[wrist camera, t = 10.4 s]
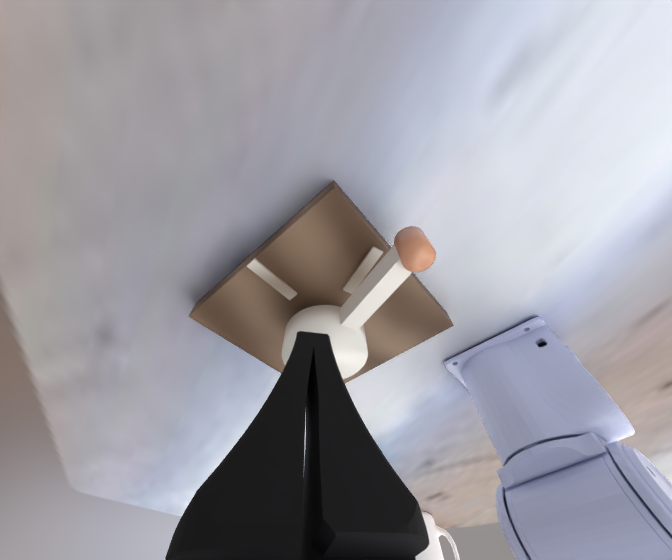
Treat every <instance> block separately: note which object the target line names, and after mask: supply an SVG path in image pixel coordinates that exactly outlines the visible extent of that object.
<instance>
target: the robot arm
mask: <svg viewBox="0 0 672 560" xmlns="http://www.w3.org/2000/svg"><path fill="white" fill-rule="evenodd" d="M444 365H445V367H446V368H447V369H448V370H449V371H450V372H451V373H452V374H453V375H454V376H455V377H456V378H457V379H458V380H459V381H460V382H461V383H462V384H463V385H464V386H465V387H466V388H467V389H468V391H469V393H470V395H471V397H472V400H473V402H474V404H475V406H476V408H477V410H478V413H479V415H480V417H481V419H482V421H483V424H484V426H485V428H486V430H487V432H488V434H489V437H490V439H491V441H492V443H493V445H494V447H495V450H496V452H497V454H498V456H499V458H500V460H501V463H502V465H503V467H502V468H500V469H498V470H497V473H498V476H499V478H500V480H501V483H502V484H500V485H499V486H498V488H497V491H496V509H497V514H498V519H499V522H500V525H501V528H502V531H503V533H504V536H505V538H506V541H507V543H508V545H509V547H510V548H511V551H512V552H513V554H514V556H515V558H516V559H517V560H672V483H671V482H670V481H669V480H668V479H667V478H666V477H665V476H664V475H663V474H662V473H661V472H660V471H659V470H658V469H657V468H656V467H655V466H654V465H653V464H652V463H651V462H650V461H649V460H648V459H647V458H646V457H645V456H644V455H643V454H642V453H641V452H639V451H638V450H637V449H635V448H633V447H630V446H627V445H624V444H623V443H621V442H618V441H619V440H621V439H624V438H627V437H629V436H631V435H633V434H635V431H634V429H633V427H632V426H631V424H630V422H629V421H628V419H627V418H626V417H625V415H624V414H623V413H622V411H621V410H620V409H619V407H618V406H617V405H616V403H615V402H614V401H613V400H612V399H611V397H610V396H609V395H608V394H607V392H606V391H605V390H604V389H603V388H602V387H601V385H600V384H599V383H598V382H597V381H596V380H595V378H594V377H593V376H592V375H591V374H590V373H589V372H588V371H587V370H586V368H585V367H584V366H583V365H582V364H581V363H580V361H579V360H578V358H577V357H576V356H575V354H574V353H573V352H572V351H571V350H570V349H569V348H568V347H567V346H566V345H564V344H563V343H562V342H561V341H560V340H559V339H558V338H557V336H556V335H555V334H554V333H553V332H552V331H551V330H550V329H549V328H548V326H547V325H546V324H545V322H544V321H543V320H542V318H540V317H536V318H533V319H531V320H529V321H527V322H525V323H523V324H521V325H519V326H517V327H515V328H513V329H511V330H509V331H506V332H504V333H502V334H500V335H498V336H496V337H494V338H492V339H490V340H488V341H486V342H484V343H482V344H480V345H478V346H476V347H474V348H472V349H470V350H467V351H465V352H463V353H461V354H459V355H457V356H455V357H453V358H451V359H449V360H447V361H446V362H445V363H444ZM305 410H306V452H305V465H304V436H305ZM303 475H304V478H303ZM428 545H429V537H428V532H427V528H426V525H425V521H424V518H423V515H422V512H421V510H420V507H419V504H418V502H417V500H416V499H415V497H414V496H413V495H412V493H411V492H410V491H409V490H408V488H407V487H406V486H405V484H404V483H403V482H402V480H401V479H400V478H399V476H398V475H397V474H396V472H395V471H394V469H393V468H392V467H391V465H390V464H389V462H388V461H387V459H386V458H385V456H384V455H383V453H382V452H381V450H380V449H379V447H378V446H377V444H376V442H375V441H374V439H373V438H372V436H371V435H370V433H369V431H368V429H367V428H366V426H365V424H364V422H363V421H362V419H361V417H360V415H359V413H358V411H357V409H356V407H355V405H354V403H353V401H352V399H351V397H350V395H349V393H348V390H347V388H346V386H345V383H344V381H343V378H342V376H341V373H340V371H339V368H338V365H337V362H336V359H335V356H334V353H333V349H332V346H331V341H330V336H329V335H328V334H323V333H314V332H305V331H299V332H297V335H296V340H295V343H294V346H293V349H292V352H291V354H290V357H289V359H288V361H287V363H286V365H285V368H284V370H283V372H282V374H281V376H280V377H279V379H278V381H277V383H276V385H275V387H274V388H273V390H272V392H271V394H270V395H269V397H268V399H267V400H266V402H265V403H264V405H263V407H262V408H261V410H260V411H259V413H258V414H257V416H256V417H255V419H254V420H253V421H252V423H251V424H250V426H249V427H248V429H247V430H246V431H245V433H244V434H243V435H242V437H241V438H240V439H239V441H238V442H237V443H236V445H235V446H234V447H233V448H232V450H231V451H230V452H229V453H228V455H227V456H226V457H225V459H224V460H223V461H222V462H221V463H220V465H219V466H218V467H217V468H216V469H215V470H214V472H213V473H212V474H211V475H210V476H209V477H208V479H207V480H206V481H205V482H204V483H203V484H202V486H201V487H200V488H199V489H198V490H197V492H196V494H195V495H194V497H193V498H192V500H191V502H190V503H189V505H188V507H187V509H186V510H185V512H184V514H183V516H182V517H181V519H180V521H179V523H178V526H177V528H176V530H175V532H174V535H173V537H172V540H171V543H170V546H169V549H168V552H167V555H166V560H416V558H415V557H416V556H417V555H418V554H420V553H421V552H423V551H424V550H425V549H426V548H427V547H428Z"/></svg>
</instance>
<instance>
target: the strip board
mask: <svg viewBox="0 0 672 560" xmlns="http://www.w3.org/2000/svg"><path fill="white" fill-rule="evenodd" d="M390 249H391V247H390V246H389V244H388V243H387V242H386V241H385V240H384V239H383V237H382V236H381V235H380V234H379V233H378V232H377V230H376V229H375V228H374V227H373V226H372V224H371V223H370V222H369V221H368V220H367V219H366V217H365V216H364V215H363V214H362V213H361V212H360V210H359V209H358V208H357V207H356V206H355V205H354V203H353V202H352V201H351V200H350V199H349V198H348V196H347V195H346V194H345V193H344V192H343V191H342V189H341V188H340V187H339V186H338V185H337V183H336V182H335V181H333V182H332V183H331V184H329V185H328V186H327V187H326V188H325V189H324V190H323V191H322V192H321V193H319V194H318V195H317V196H316V197H315V198H314V199H313V200H312V201H310V202H309V203H308V204H307V205H306V206H305V207H304V208H303V209H301V210H300V211H299V212H298V213H297V214H296V215H295V216H294V217H293V218H291V219H290V220H289V221H288V222H287V223H286V224H285V225H284V226H282V227H281V228H280V229H279V230H278V231H277V232H276V233H275V234H273V235H272V236H271V237H270V238H269V239H268V240H267V241H266V242H265V243H263V244H262V245H261V246H260V247H259V248H258V249H257V250H256V251H254V252H253V253H252V254H251V255H250V256H249V257H248V258H247V259H245V260H244V261H243V262H242V263H241V264H240V265H239V266H238V267H237V268H235V269H234V270H233V271H232V272H231V273H230V274H229V275H228V276H226V277H225V278H224V279H223V280H222V281H221V282H220V283H219V284H217V285H216V286H215V287H214V288H213V289H212V290H211V291H210V292H209V293H207V294H206V295H205V296H204V297H203V298H202V299H201V300H200V301H198V302H197V303H196V304H195V306H194V308H193V309H192V311H191V313H190V315H189V316H188V317H190V318H192V319H193V320H195V321H197V322H198V323H200V324H202V325H203V326H205V327H206V328H208V329H210V330H211V331H213V332H215V333H216V334H218V335H220V336H221V337H223V338H224V339H226V340H228V341H229V342H231V343H233V344H234V345H236V346H238V347H239V348H241V349H242V350H244V351H246V352H247V353H249V354H251V355H252V356H254V357H256V358H257V359H259V360H260V361H262V362H264V363H265V364H267V365H269V366H270V367H272V368H274V369H275V370H277V371H278V372H280V373H282V372H283V370H284V368H285V364H284V362H283V360H282V347H283V341H284V335H285V329H286V326H287V323H288V322H289V320H290V319H291V318H292V317H293V316H294V315H295V314H296V313H298V312H299V311H301V310H303V309H305V308H308V307H311V306H316V305H334V306H339V307H342V305H343V304H344V303H345V302H346V301H347V300H348V298H349V297H350V296H351V295H352V294H353V292H354V291H355V290H356V289H357V288H358V287H359V285H360V284H361V283H362V282H363V281H364V280H365V278H366V277H367V276H368V275H369V274H370V272H371V271H372V270H373V269H374V268H375V267H376V265H377V264H378V263H379V262H380V261H381V259H382V258H383V257H384V256H385V255H386V254H387V252H388V251H389V250H390ZM363 326H364V330H365V336H366V343H367V349H368V357H367V361H366V363H365V364H364V366H363V367H362V368H361V369H360V370H359V371H358V372H357V373H355V374H354V375H352V376H350V377H348V378H345V379H343V381H344V383H347V382H349V381H350V380H352V379H354V378H356V377H358V376H360V375H362V374H364V373H365V372H367V371H369V370H371V369H373V368H375V367H377V366H379V365H380V364H382V363H384V362H386V361H388V360H390V359H392V358H394V357H395V356H397V355H399V354H401V353H403V352H405V351H407V350H409V349H410V348H412V347H414V346H416V345H418V344H420V343H422V342H424V341H425V340H427V339H429V338H431V337H433V336H435V335H437V334H439V333H440V332H442V331H444V330H446V329H448V328H450V327H452V326H454V325H453V323H452V321H451V320H450V318H449V316H448V314H447V312H446V311H445V310H444V309H443V308H442V307H441V305H440V304H439V303H438V302H437V301H436V299H435V298H434V297H433V296H432V295H431V294H430V292H429V291H428V290H427V289H426V288H425V287H424V285H423V284H422V283H421V282H420V281H419V280H418V278H417V277H416V276H415V275H414V274H413V273H411V274H410V275H409V276H408V278H407V279H406V280H405V281H404V282H403V283H402V284H401V285H400V286H399V287H398V288H397V289H396V290H395V291H394V292H393V293H392V294H391V295H390V296H389V298H388V299H387V300H386V301H385V302H384V303H383V304H382V305H381V306H380V307H379V308H378V309H377V310H376V311H375V312H374V313H373V314H372V315H371V317H370V318H369V319H368V320H367V321H366V322H365V323H364V324H363Z"/></svg>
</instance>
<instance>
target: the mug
mask: <svg viewBox="0 0 672 560" xmlns="http://www.w3.org/2000/svg"><path fill="white" fill-rule="evenodd" d="M421 512H422V515H423V518H424V521H425V525H426V528H427V532H428V537H429V545H428V547H427V548H426V549H425V550H424V551H423V552H421V553H420V554H418V555H417V556H416V557H415V558H416V560H444V558H443V554H442V550H441V546H440V542H439V539H438V537H439V536H440V535H444V536H445V537H446V538H447V539H448V540H449V542H450V544H451V546H452V548H453V551H454V555H455V559H456V560H460V559H459V555H458V551H457V548H456V545H455V543H454V541H453V539H452V537H451V536H450V534H449V533H448V532H447V531H446V530H445V529H443V528H440V527H438V526H437V525H435V522H434V519H433V517H432V516H431V515H430V514H429V513H427V512H424V511H421Z"/></svg>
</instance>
